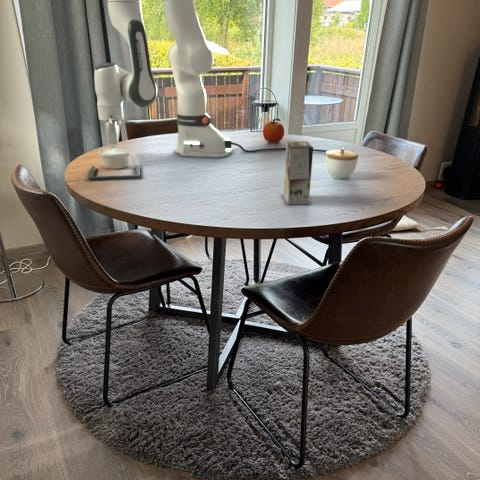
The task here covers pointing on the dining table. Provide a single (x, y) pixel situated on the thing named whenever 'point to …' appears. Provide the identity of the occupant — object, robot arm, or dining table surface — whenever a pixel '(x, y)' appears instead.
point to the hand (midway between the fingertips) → (115, 153)
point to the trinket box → (341, 163)
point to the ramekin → (115, 158)
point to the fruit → (273, 131)
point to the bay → (92, 178)
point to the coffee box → (298, 172)
